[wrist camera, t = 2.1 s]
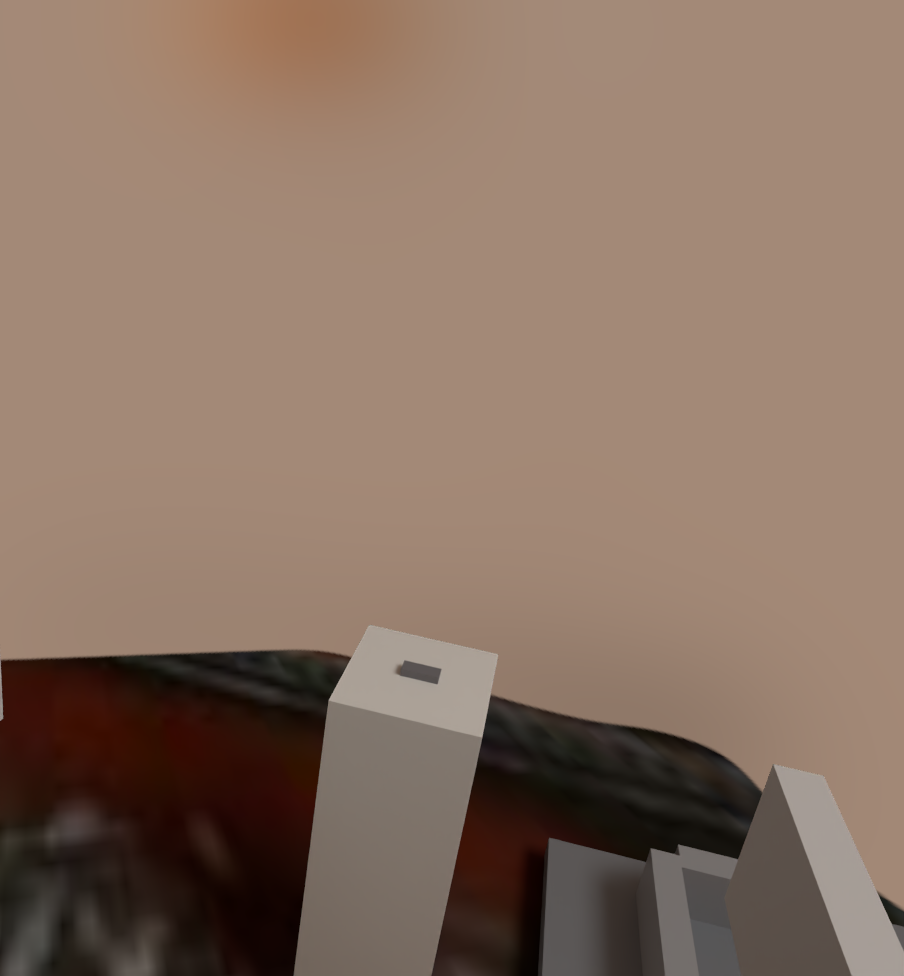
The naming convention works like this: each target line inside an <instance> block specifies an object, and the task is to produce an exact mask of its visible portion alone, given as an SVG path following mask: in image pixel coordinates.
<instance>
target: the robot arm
mask: <svg viewBox="0 0 904 976" xmlns="http://www.w3.org/2000/svg"><path fill="white" fill-rule="evenodd" d="M2 719H3V705H2V683H1V661H0V721H1V720H2ZM724 899H725V904H726V908H727V913H728V917H729V922H730V926H731V931H732V935H733V940H734V944H735V949H736V953H737V958H738V962H739V967H740V971H741V976H904V951H903V948H902V946H901V944H900V942H899V940H898V937H897V935H896V933H895V931H894V929H893V926H892V924H891V922H890V920H889V918H888V916H887V913H886V911H885V909H884V907H883V905H882V902H881V900H880V898H879V896H878V894H877V891H876V889H875V887H874V885H873V883H872V881H871V878H870V876H869V874H868V872H867V870H866V867H865V866H864V863H863V861H862V859H861V857H860V854H859V852H858V850H857V848H856V845H855V843H854V841H853V839H852V837H851V835H850V832H849V830H848V828H847V826H846V824H845V822H844V819H843V817H842V815H841V813H840V811H839V808H838V806H837V804H836V802H835V799H834V797H833V795H832V793H831V791H830V789H829V787H828V784H827V782H826V780H825V778H824V776H822V775H818V774H813V773H809V772H805V771H801V770H796V769H792V768H787V767H783V766H779V765H774V764H773V766H772V769H771V772H770V774H769V777H768V780H767V783H766V785H765V788H764V791H763V793H762V796H761V799H760V802H759V804H758V807H757V810H756V813H755V815H754V818H753V821H752V823H751V826H750V829H749V832H748V834H747V837H746V840H745V843H744V845H743V848H742V851H741V853H740V856H739V859H738V862H737V864H736V867H735V870H734V873H733V875H732V878H731V881H730V883H729V886H728V889H727V892H726V894H725V897H724Z"/></svg>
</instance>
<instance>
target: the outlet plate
mask: <svg viewBox="0 0 904 976" xmlns="http://www.w3.org/2000/svg"><path fill="white" fill-rule="evenodd" d="M737 862H738V859H734V858H730V857H726V856H722V855H718V854H714V853H710V852H706V851H702V850H698V849H694V848H690V847H685V846H681V845H678V846H677V849H676V852H675V854H671V853H667V852H663V851H659V850H655V849H650V852H649V855H648V858H647V861H646V862H643V861H639V860H635V859H631V858H627V857H623V856H619V855H615V854H611V853H607V852H603V851H599V850H595V849H591V848H587V847H583V846H579V845H575V844H571V843H567V842H564V841H560V840H556V839H552V838H549V840H548V844H547V848H546V852H545V857H544V875H543V892H542V910H541V928H540V945H539V963H538V976H741V971H740V967H739V962H738V958H737V953H736V949H735V944H734V940H733V935H732V931H731V926H730V922H729V917H728V913H727V908H726V904H725V899H724V897H725V894H726V892H727V889H728V886H729V883H730V881H731V878H732V875H733V873H734V870H735V867H736V864H737ZM892 926H893V929H894V931H895V933H896V935H897V937H898V940H899V942H900V944H901V946H902V948H903V951H904V927H901V926H897V925H893V924H892Z"/></svg>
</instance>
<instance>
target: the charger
mask: <svg viewBox="0 0 904 976" xmlns="http://www.w3.org/2000/svg"><path fill="white" fill-rule="evenodd" d="M497 658H498V654H494V653H490V652H486V651H482V650H477V649H473V648H469V647H464V646H460V645H455V644H451V643H447V642H442V641H437V640H433V639H429V638H425V637H421V636H416V635H412V634H408V633H403V632H398V631H394V630H390V629H386V628H381V627H377V626H373V625H369V626H368V628H367V630H366V632H365V634H364V636H363V638H362V639H361V641H360V643H359V645H358V647H357V649H356V651H355V652H354V654H353V656H352V658H351V660H350V662H349V664H348V666H347V667H346V669H345V671H344V673H343V675H342V677H341V679H340V680H339V682H338V684H337V686H336V688H335V690H334V692H333V694H332V695H331V697H330V699H329V702H328V710H327V718H326V726H325V734H324V741H323V749H322V757H321V765H320V773H319V781H318V788H317V796H316V804H315V812H314V820H313V828H312V835H311V843H310V851H309V859H308V867H307V875H306V882H305V890H304V898H303V906H302V914H301V922H300V929H299V937H298V945H297V953H296V961H295V969H294V976H431V974H432V970H433V965H434V960H435V956H436V951H437V946H438V942H439V937H440V932H441V927H442V923H443V918H444V913H445V909H446V904H447V899H448V895H449V890H450V885H451V881H452V876H453V871H454V867H455V862H456V857H457V853H458V848H459V843H460V839H461V834H462V829H463V825H464V820H465V815H466V811H467V806H468V801H469V797H470V792H471V787H472V783H473V778H474V773H475V769H476V764H477V759H478V755H479V750H480V745H481V741H482V736H483V731H484V725H485V720H486V715H487V710H488V705H489V700H490V694H491V689H492V684H493V679H494V673H495V669H496V663H497Z"/></svg>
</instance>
